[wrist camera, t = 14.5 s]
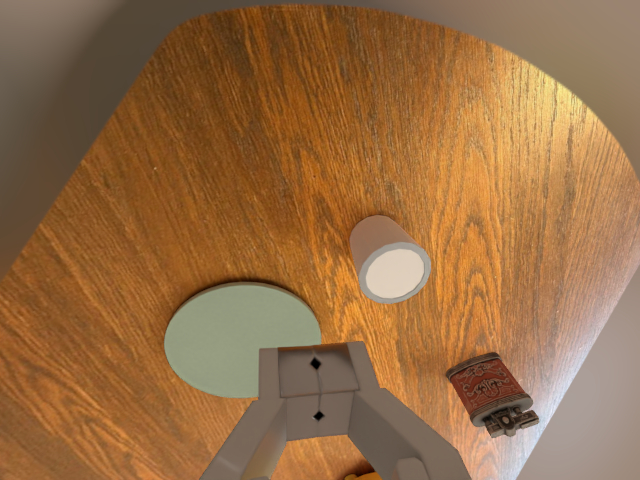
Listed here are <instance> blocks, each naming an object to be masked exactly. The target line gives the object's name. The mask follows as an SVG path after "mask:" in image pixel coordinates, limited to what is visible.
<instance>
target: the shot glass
mask: <svg viewBox="0 0 640 480" xmlns="http://www.w3.org/2000/svg"><path fill="white" fill-rule="evenodd" d="M349 241H350V247H351V252H352V256H353V260H354V264H355V268H356V272H357V276H358V280H359V285H360V289H361V290H362V291H363V292H364V294H365V295H366V296H367V298H369V299H372V300H374V301H376V302H378V303H388V304H392V303H396V302H401V301H405V300H406V299H408V298H410V297H411V296H413V295H415V294H417V293H418V291H419V290H420V289H421V288H422V287H423V286H424V285H425V284H426V282H427V280H428V277H429V275H430V273H431V261H430V258H429V257H428V255H427V253H426V252H425V250H424V249H423V248H422V247H421V246H420V245H419V244H418V243H417V242H416V241H415V240H414V239H413V238H412V237H411V236H410V235H409V234H407V233H406V232H405V231H404V230H403V229H402V228H401V227H400V226H399V225H398V224H397V223H396V222H395V221H394V220H392V219H391V218H389V217H387V216H382V215H374V216H370V217H366V218H365V219H363V220H362V221H360V222H359V223H358V224H357V225H356V226H355V227H354V229H353V230H352V232H351V236H350V239H349Z"/></svg>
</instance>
